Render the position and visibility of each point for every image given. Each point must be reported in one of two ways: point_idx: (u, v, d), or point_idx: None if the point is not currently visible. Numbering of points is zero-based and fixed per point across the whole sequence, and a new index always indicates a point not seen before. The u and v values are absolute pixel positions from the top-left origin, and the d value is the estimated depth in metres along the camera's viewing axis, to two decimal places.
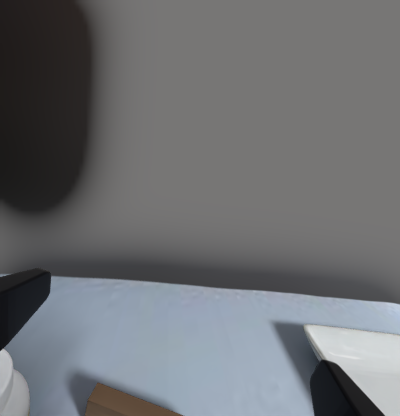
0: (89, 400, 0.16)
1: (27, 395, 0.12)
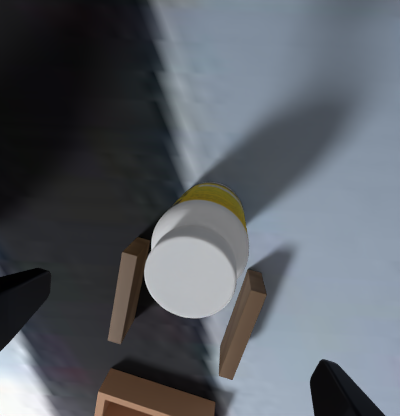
0: (250, 291, 0.17)
1: None
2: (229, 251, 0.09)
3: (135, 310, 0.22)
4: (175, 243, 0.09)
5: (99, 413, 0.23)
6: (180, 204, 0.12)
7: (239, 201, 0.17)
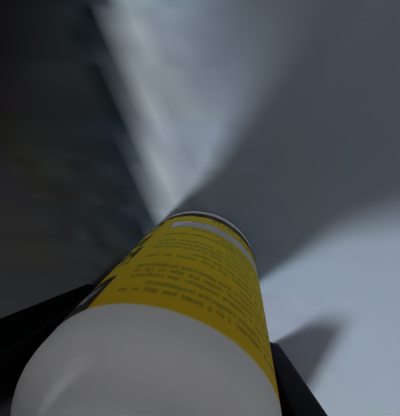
0: None
1: None
2: None
3: None
4: None
5: None
6: (83, 322, 0.04)
7: (249, 251, 0.09)
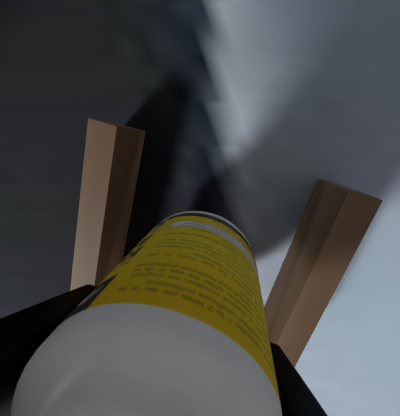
0: (347, 194, 0.08)
1: None
2: None
3: (120, 260, 0.14)
4: None
5: None
6: (83, 321, 0.04)
7: (249, 251, 0.09)
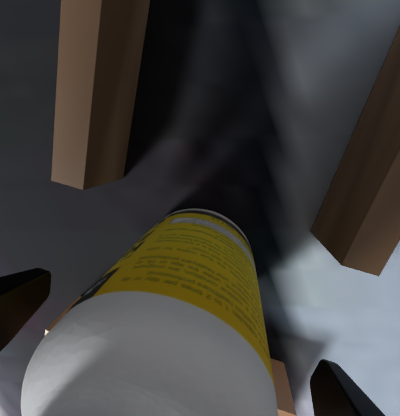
0: None
1: None
2: None
3: (124, 149, 0.10)
4: None
5: None
6: (90, 308, 0.04)
7: (247, 247, 0.09)
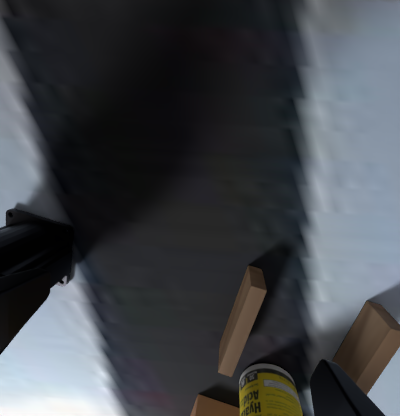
0: (390, 329, 0.16)
1: None
2: None
3: None
4: None
5: None
6: None
7: (295, 391, 0.20)
